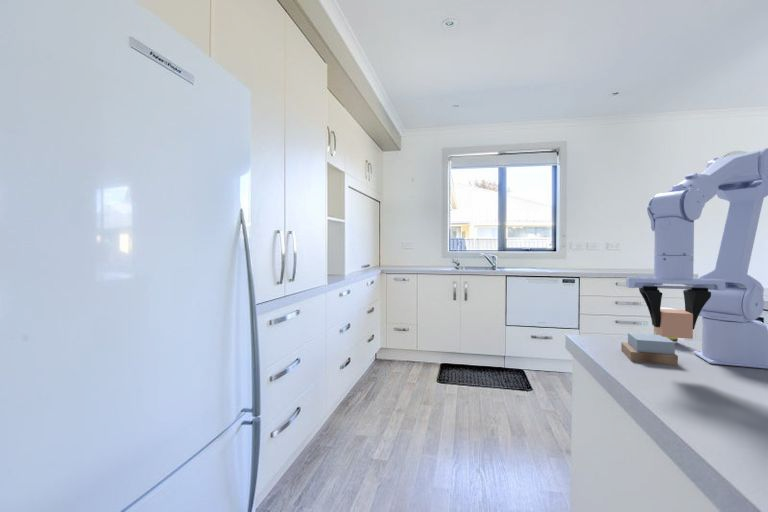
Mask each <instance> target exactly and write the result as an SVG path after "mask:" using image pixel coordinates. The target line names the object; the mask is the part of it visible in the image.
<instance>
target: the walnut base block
mask: <svg viewBox="0 0 768 512" xmlns="http://www.w3.org/2000/svg"><path fill="white" fill-rule="evenodd" d="M620 344H621V348H620V349H621V352H622V353H623V354H624V355H625V357H626V358H627V359H629V361H631V362H637V361H638V362H639V363H646V364H648V363H651V364H661V365H670V366H678V365H679V356H678V355H677V354H676V353H675V355H673V354H661V353H649V352H637V351H636V350H635V349H633V348H632V347H631V346H630V345H629V344H628V342H625V341H624V342H621V343H620Z"/></svg>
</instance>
